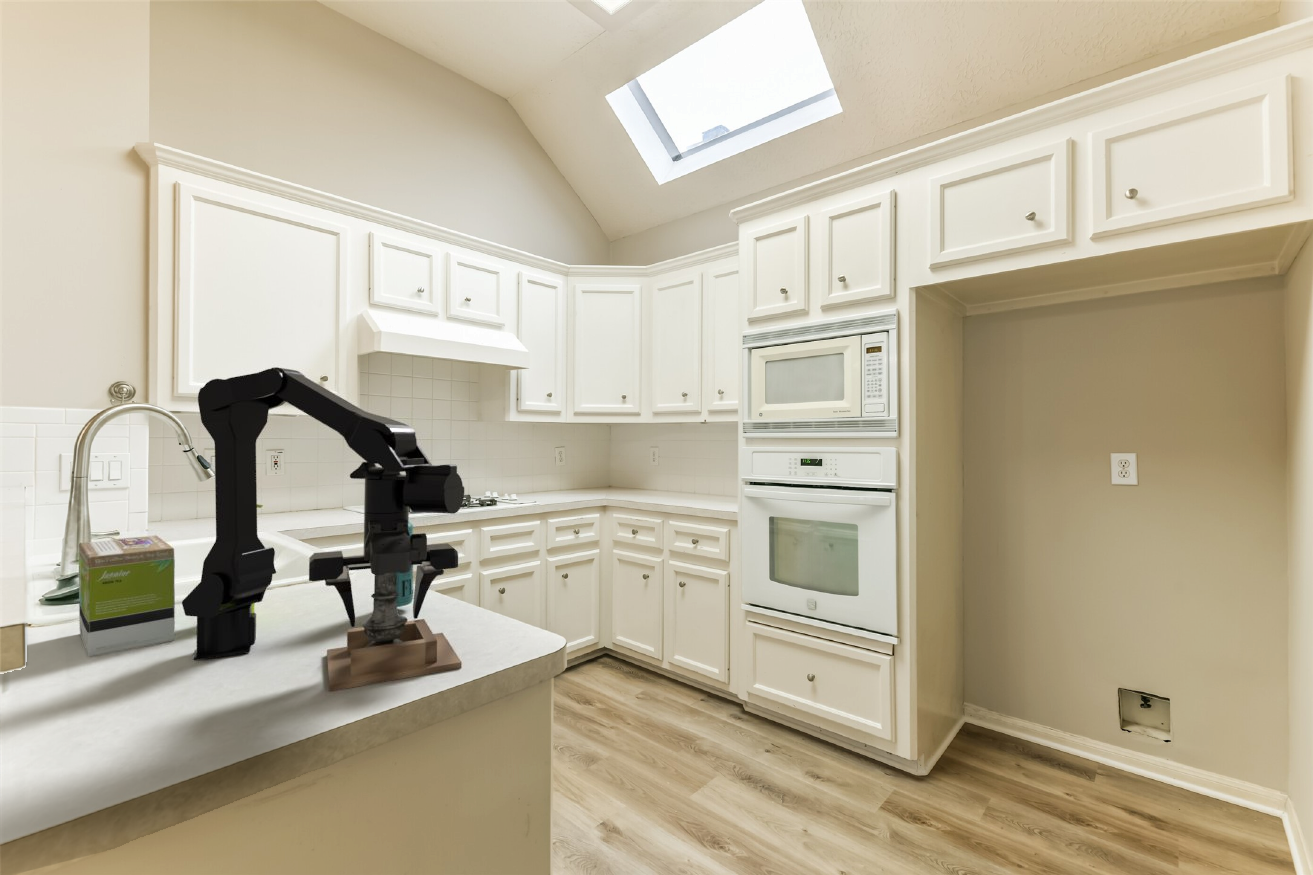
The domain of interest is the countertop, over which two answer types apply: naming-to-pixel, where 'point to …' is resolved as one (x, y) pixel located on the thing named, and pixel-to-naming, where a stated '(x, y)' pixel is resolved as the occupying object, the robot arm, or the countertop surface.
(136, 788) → the countertop surface
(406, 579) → the beverage bottle
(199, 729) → the countertop surface
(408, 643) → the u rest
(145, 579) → the tea box
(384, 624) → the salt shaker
